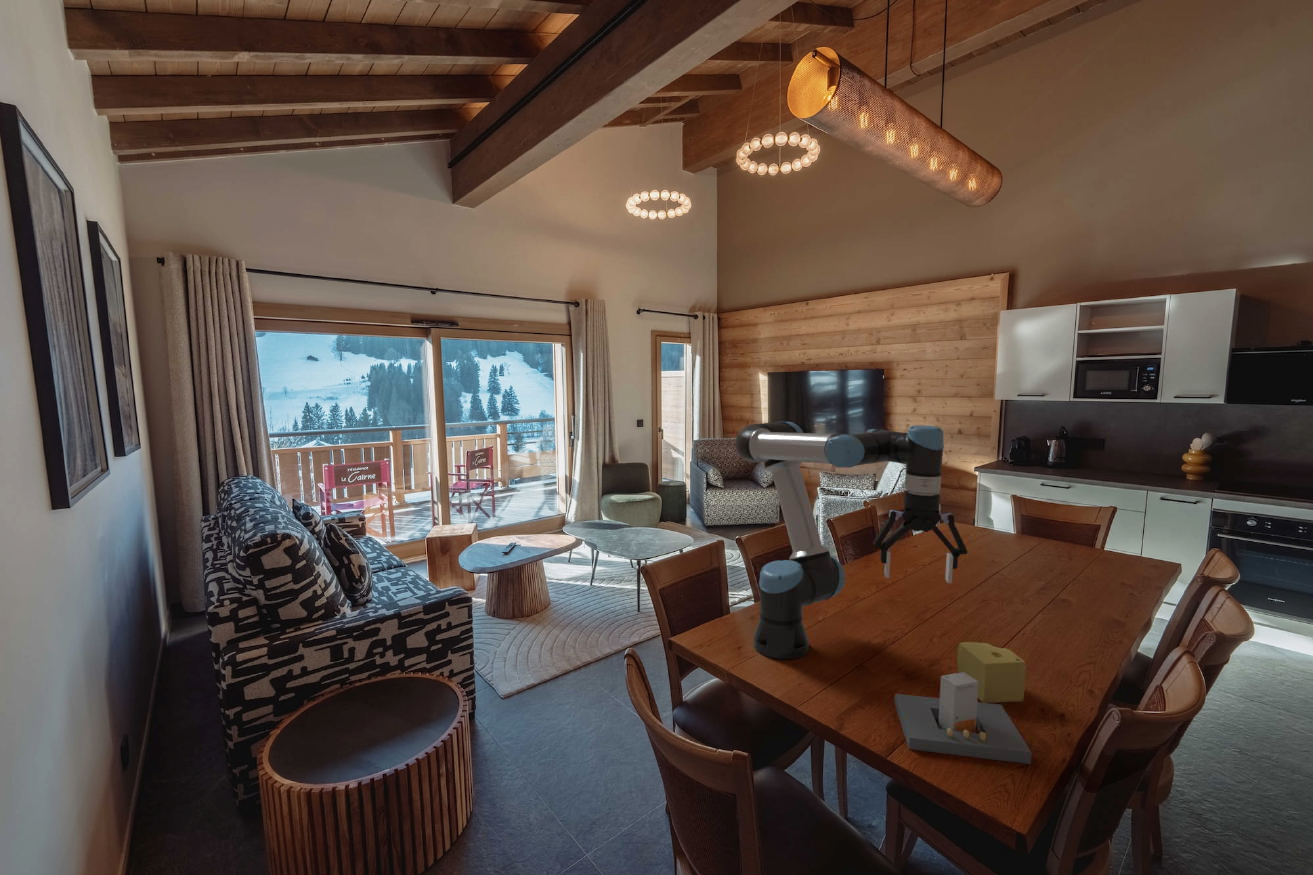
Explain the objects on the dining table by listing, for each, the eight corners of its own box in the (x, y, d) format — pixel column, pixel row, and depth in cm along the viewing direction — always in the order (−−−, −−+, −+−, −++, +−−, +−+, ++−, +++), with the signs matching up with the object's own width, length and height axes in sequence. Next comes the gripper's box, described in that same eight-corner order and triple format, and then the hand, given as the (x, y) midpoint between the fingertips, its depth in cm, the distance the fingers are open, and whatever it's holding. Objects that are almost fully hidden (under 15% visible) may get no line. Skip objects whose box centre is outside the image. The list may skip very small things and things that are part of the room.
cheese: (996, 678, 139) (998, 640, 138) (1026, 703, 128) (1029, 662, 127) (955, 679, 139) (957, 641, 138) (982, 705, 128) (984, 664, 127)
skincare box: (952, 740, 116) (954, 685, 115) (937, 727, 120) (939, 675, 119) (977, 735, 118) (979, 681, 116) (961, 723, 122) (963, 670, 120)
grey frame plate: (909, 749, 114) (909, 730, 113) (894, 703, 129) (895, 687, 129) (1030, 764, 109) (1032, 744, 108) (1000, 715, 124) (1001, 698, 124)
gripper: (867, 492, 131) (863, 579, 133) (986, 498, 124) (979, 589, 127) (864, 485, 138) (860, 568, 141) (976, 491, 131) (970, 577, 134)
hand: (917, 578), depth 134 cm, fingers open, 13 cm apart
